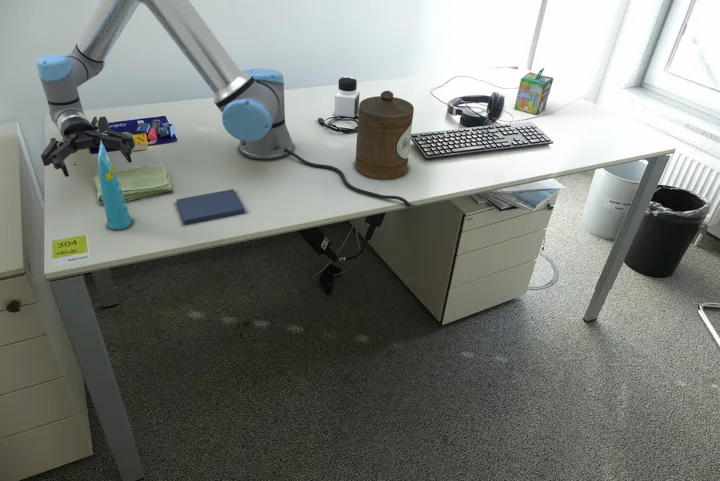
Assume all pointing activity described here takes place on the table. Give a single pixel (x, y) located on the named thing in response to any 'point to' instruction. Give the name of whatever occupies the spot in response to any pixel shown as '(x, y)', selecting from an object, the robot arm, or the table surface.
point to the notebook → (209, 206)
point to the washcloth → (139, 182)
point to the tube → (112, 193)
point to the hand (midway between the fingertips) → (98, 164)
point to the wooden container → (383, 136)
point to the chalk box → (533, 93)
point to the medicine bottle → (347, 98)
